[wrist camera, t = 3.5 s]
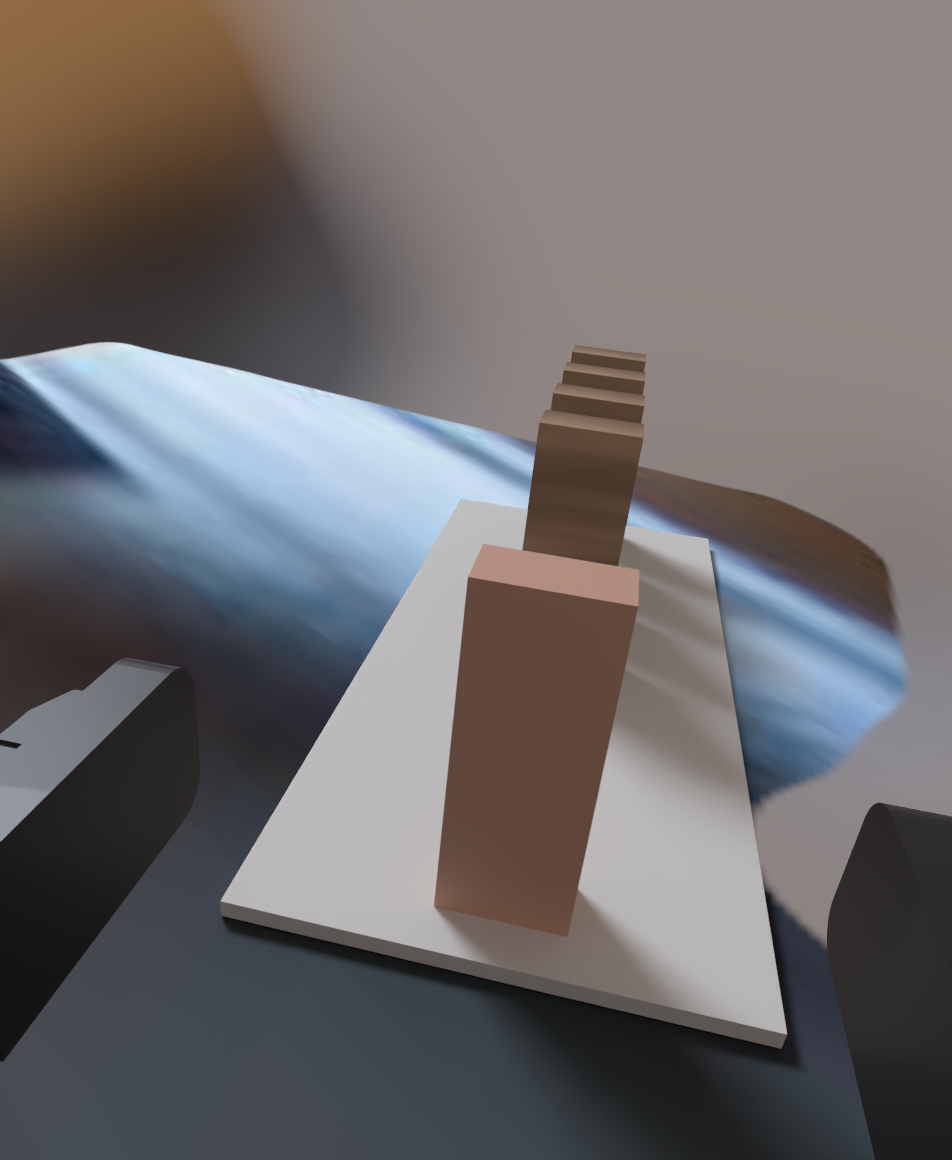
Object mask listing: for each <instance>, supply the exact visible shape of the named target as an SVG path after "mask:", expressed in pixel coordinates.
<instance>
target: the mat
mask: <svg viewBox="0 0 952 1160" xmlns="http://www.w3.org/2000/svg"><path fill="white" fill-rule="evenodd" d="M527 512H528V510H526V509H520V508H514V507H508V506H502V505H495V504H489V503H483V502H477V501H471V500H465V499H461V501H460V502H459V504H458V506H457V507H456V509H455V511H454V512H453V514H452V516H451V517H450V519H449V521H448V522H447V524H446V526H445V527H444V529H443V531H442V532H441V534H440V536H439V537H438V539H437V541H436V542H435V544H434V546H433V547H432V549H431V551H430V552H429V554H428V556H427V557H426V559H425V561H424V562H423V564H422V566H421V567H420V569H419V571H418V572H417V574H416V576H415V577H414V579H413V581H412V582H411V584H410V586H409V587H408V589H407V591H406V592H405V594H404V596H403V597H402V599H401V601H400V602H399V604H398V606H397V607H396V609H395V611H394V612H393V614H392V616H391V617H390V619H389V621H388V622H387V624H386V626H385V627H384V629H383V631H382V632H381V634H380V636H379V637H378V639H377V641H376V642H375V644H374V646H373V647H372V649H371V651H370V652H369V654H368V656H367V657H366V659H365V661H364V662H363V664H362V666H361V667H360V669H359V671H358V672H357V674H356V676H355V677H354V679H353V681H352V682H351V684H350V686H349V687H348V689H347V691H346V692H345V694H344V696H343V697H342V699H341V701H340V702H339V704H338V706H337V707H336V709H335V711H334V713H333V714H332V716H331V718H330V719H329V721H328V723H327V724H326V726H325V728H324V729H323V731H322V733H321V734H320V736H319V738H318V739H317V741H316V743H315V744H314V746H313V748H312V749H311V751H310V753H309V754H308V756H307V758H306V759H305V761H304V763H303V764H302V766H301V768H300V769H299V771H298V773H297V774H296V776H295V778H294V779H293V781H292V783H291V784H290V786H289V788H288V789H287V791H286V793H285V794H284V796H283V798H282V799H281V801H280V803H279V804H278V806H277V808H276V809H275V811H274V813H273V814H272V816H271V818H270V819H269V821H268V823H267V824H266V826H265V828H264V829H263V831H262V833H261V834H260V836H259V838H258V839H257V841H256V843H255V844H254V846H253V848H252V849H251V851H250V853H249V854H248V856H247V858H246V859H245V861H244V863H243V864H242V866H241V868H240V869H239V871H238V873H237V874H236V876H235V878H234V879H233V881H232V883H231V884H230V886H229V888H228V889H227V891H226V893H225V894H224V896H223V898H222V899H221V901H220V903H221V916H224V917H229V918H233V919H237V920H241V921H246V922H250V923H254V924H258V925H262V926H267V927H271V928H275V929H279V930H283V931H288V932H292V933H296V934H300V935H304V936H309V937H313V938H317V939H321V940H325V941H330V942H334V943H338V944H342V945H346V946H351V947H355V948H359V949H363V950H367V951H372V952H376V953H380V954H384V955H389V956H393V957H397V958H401V959H405V960H410V961H414V962H418V963H422V964H426V965H431V966H435V967H439V968H443V969H447V970H452V971H456V972H460V973H464V974H468V975H473V976H477V977H481V978H485V979H489V980H494V981H498V982H502V983H506V984H511V985H515V986H519V987H523V988H527V989H532V990H536V991H540V992H544V993H548V994H553V995H557V996H561V997H565V998H569V999H574V1000H578V1001H582V1002H586V1003H590V1004H595V1005H599V1006H603V1007H607V1008H611V1009H616V1010H620V1011H624V1012H628V1013H632V1014H637V1015H641V1016H645V1017H649V1018H654V1019H658V1020H662V1021H666V1022H670V1023H675V1024H679V1025H683V1026H687V1027H691V1028H696V1029H700V1030H704V1031H708V1032H712V1033H717V1034H721V1035H725V1036H729V1037H733V1038H738V1039H742V1040H746V1041H750V1042H754V1043H759V1044H763V1045H767V1046H771V1047H775V1048H780V1049H781V1048H782V1046H783V1043H784V1041H785V1039H786V1036H787V1030H786V1024H785V1018H784V1011H783V1005H782V999H781V993H780V986H779V980H778V974H777V968H776V961H775V955H774V949H773V943H772V936H771V930H770V924H769V918H768V911H767V905H766V899H765V893H764V886H763V880H762V874H761V868H760V861H759V855H758V849H757V843H756V836H755V830H754V824H753V818H752V811H751V805H750V799H749V793H748V786H747V780H746V774H745V768H744V761H743V755H742V749H741V743H740V736H739V730H738V724H737V718H736V711H735V705H734V699H733V693H732V686H731V680H730V674H729V668H728V661H727V655H726V649H725V643H724V636H723V630H722V624H721V618H720V611H719V605H718V599H717V593H716V586H715V580H714V574H713V568H712V561H711V555H710V549H709V543H708V539H705V538H699V537H693V536H686V535H680V534H674V533H668V532H662V531H656V530H649V529H643V528H637V527H631V526H626V529H625V534H624V539H623V544H622V549H621V554H620V559H619V564H618V566H619V567H625V568H631V569H636V570H639V598H638V610H637V615H636V619H635V624H634V629H633V633H632V638H631V643H630V647H629V652H628V657H627V661H626V666H625V671H624V675H623V680H622V685H621V690H620V694H619V699H618V704H617V708H616V713H615V718H614V722H613V727H612V732H611V736H610V741H609V746H608V750H607V755H606V760H605V764H604V769H603V774H602V778H601V783H600V788H599V792H598V797H597V802H596V806H595V811H594V816H593V820H592V825H591V830H590V834H589V839H588V844H587V848H586V853H585V858H584V862H583V867H582V872H581V877H580V881H579V886H578V891H577V895H576V900H575V905H574V909H573V914H572V919H571V923H570V928H569V933H568V937H566V936H561V935H557V934H552V933H548V932H544V931H539V930H535V929H531V928H526V927H522V926H517V925H513V924H509V923H504V922H500V921H496V920H491V919H487V918H482V917H478V916H474V915H469V914H465V913H460V912H456V911H452V910H447V909H443V908H439V907H434V900H435V890H436V880H437V871H438V861H439V851H440V842H441V832H442V822H443V813H444V803H445V793H446V784H447V774H448V764H449V755H450V745H451V735H452V726H453V716H454V706H455V697H456V687H457V677H458V668H459V658H460V648H461V639H462V629H463V619H464V609H465V600H466V590H467V580H468V576H469V573H470V571H471V569H472V567H473V565H474V563H475V560H476V558H477V556H478V554H479V552H480V550H481V548H482V545H483V544H488V545H494V546H500V547H506V548H512V549H518V550H522V549H523V542H524V534H525V527H526V519H527Z"/></svg>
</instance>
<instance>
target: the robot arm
mask: <svg viewBox="0 0 952 1160" xmlns="http://www.w3.org/2000/svg"><path fill="white" fill-rule="evenodd" d="M199 778H200V760H199V747H198V733H197V720H196V706H195V693H194V683H193V679H192V676H191V674H190V672H189V671H188V670H186V669H185V668H180V667H174V666H169V665H164V664H159V663H153V662H148V661H143V660H138V659H132V658H123V659H121V660H119V661H118V662H116V663H115V664H114V665H113V666H111V667H110V668H109V669H108V670H107V671H106V672H104V673H103V674H102V675H101V676H100V677H99V678H98V679H96V680H95V681H94V682H93V683H92V684H91V685H90V686H88V687H87V688H86V689H85V690H84V691H79V690H72V691H70V692H68V693H65V694H63V695H61V696H59V697H57V698H55V699H53V700H50V701H48V702H46V703H44V704H42V705H40V706H38V707H36V708H33V709H31V710H29V711H28V712H27V713H26V714H24V715H23V716H22V717H21V718H20V719H18V720H17V721H16V722H15V723H13V724H12V725H11V726H10V727H9V728H7V729H6V730H5V731H4V732H3V733H1V734H0V1061H2V1062H3V1061H4V1060H5V1058H6V1057H7V1056H8V1054H9V1053H10V1052H11V1050H12V1049H13V1048H14V1046H15V1045H16V1044H17V1042H18V1041H19V1040H20V1038H21V1037H22V1036H23V1034H24V1033H25V1032H26V1030H27V1029H28V1028H29V1026H30V1025H31V1024H32V1022H33V1021H34V1020H35V1018H36V1017H37V1016H38V1014H39V1013H40V1012H41V1010H42V1009H43V1008H44V1006H45V1005H46V1004H47V1002H48V1001H49V1000H50V998H51V997H52V996H53V994H54V993H55V992H56V990H57V989H58V988H59V986H60V985H61V984H62V982H63V981H64V980H65V978H66V977H67V976H68V974H69V973H70V972H71V970H72V969H73V968H74V966H75V965H76V964H77V962H78V961H79V960H80V958H81V957H82V956H83V954H84V953H85V952H86V950H87V949H88V948H89V946H90V945H91V944H92V942H93V941H94V940H95V938H96V937H97V936H98V934H99V933H100V932H101V930H102V929H103V928H104V926H105V925H106V924H107V922H108V921H109V920H110V918H111V917H112V916H113V914H114V913H115V912H116V910H117V909H118V908H119V906H120V905H121V904H122V902H123V901H124V900H125V898H126V897H127V896H128V894H129V893H130V892H131V890H132V889H133V888H134V886H135V885H136V884H137V882H138V881H139V880H140V878H141V877H142V876H143V874H144V873H145V872H146V870H147V869H148V868H149V866H150V865H151V864H152V862H153V861H154V860H155V858H156V857H157V856H158V854H159V853H160V852H161V850H162V849H163V848H164V846H165V845H166V844H167V842H168V841H169V840H170V838H171V837H172V836H173V834H174V833H175V832H176V830H177V829H178V828H179V826H180V825H181V824H182V822H183V821H184V819H185V818H186V816H187V814H188V813H189V811H190V809H191V806H192V804H193V802H194V799H195V796H196V793H197V789H198V784H199ZM827 949H828V958H829V963H830V968H831V972H832V976H833V981H834V985H835V989H836V994H837V998H838V1002H839V1006H840V1011H841V1015H842V1019H843V1023H844V1028H845V1032H846V1036H847V1041H848V1045H849V1049H850V1053H851V1058H852V1062H853V1066H854V1070H855V1075H856V1079H857V1083H858V1088H859V1092H860V1096H861V1100H862V1105H863V1109H864V1113H865V1117H866V1122H867V1126H868V1130H869V1135H870V1139H871V1143H872V1147H873V1152H874V1156H875V1160H952V817H951V816H947V815H941V814H936V813H931V812H926V811H920V810H915V809H909V808H905V807H899V806H893V805H888V804H883V803H876V804H874V805H873V806H872V807H871V808H870V809H869V811H868V813H867V815H866V817H865V819H864V822H863V825H862V827H861V829H860V832H859V835H858V837H857V840H856V842H855V845H854V847H853V850H852V853H851V855H850V858H849V860H848V863H847V865H846V868H845V871H844V873H843V875H842V878H841V881H840V883H839V886H838V889H837V891H836V893H835V896H834V899H833V902H832V905H831V909H830V914H829V919H828V929H827Z"/></svg>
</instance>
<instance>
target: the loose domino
mask: <svg viewBox="0 0 952 1160" xmlns="http://www.w3.org/2000/svg"><path fill="white" fill-rule="evenodd" d="M638 598H639V570H636V569H631V568H625V567H619V566H613V565H607V564H601V563H595V562H589V561H583V560H577V559H571V558H565V557H559V556H554V555H548V554H542V553H536V552H530V551H524V550H518V549H512V548H506V547H500V546H494V545H488V544H483V545H482V548H481V550H480V552H479V554H478V556H477V558H476V560H475V563H474V565H473V567H472V569H471V571H470V573H469V576H468V580H467V590H466V600H465V609H464V619H463V629H462V639H461V648H460V658H459V668H458V677H457V687H456V697H455V706H454V716H453V726H452V735H451V745H450V755H449V764H448V774H447V784H446V793H445V803H444V813H443V822H442V832H441V842H440V851H439V861H438V871H437V880H436V890H435V900H434V907H439V908H443V909H447V910H452V911H456V912H460V913H465V914H469V915H474V916H478V917H482V918H487V919H491V920H496V921H500V922H504V923H509V924H513V925H517V926H522V927H526V928H531V929H535V930H539V931H544V932H548V933H552V934H557V935H561V936H566V937H568V933H569V928H570V923H571V919H572V914H573V909H574V905H575V900H576V895H577V891H578V886H579V881H580V877H581V872H582V867H583V862H584V858H585V853H586V848H587V844H588V839H589V834H590V830H591V825H592V820H593V816H594V811H595V806H596V802H597V797H598V792H599V788H600V783H601V778H602V774H603V769H604V764H605V760H606V755H607V750H608V746H609V741H610V736H611V732H612V727H613V722H614V718H615V713H616V708H617V704H618V699H619V694H620V690H621V685H622V680H623V675H624V671H625V666H626V661H627V657H628V652H629V647H630V643H631V638H632V633H633V629H634V624H635V619H636V615H637V610H638Z"/></svg>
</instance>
